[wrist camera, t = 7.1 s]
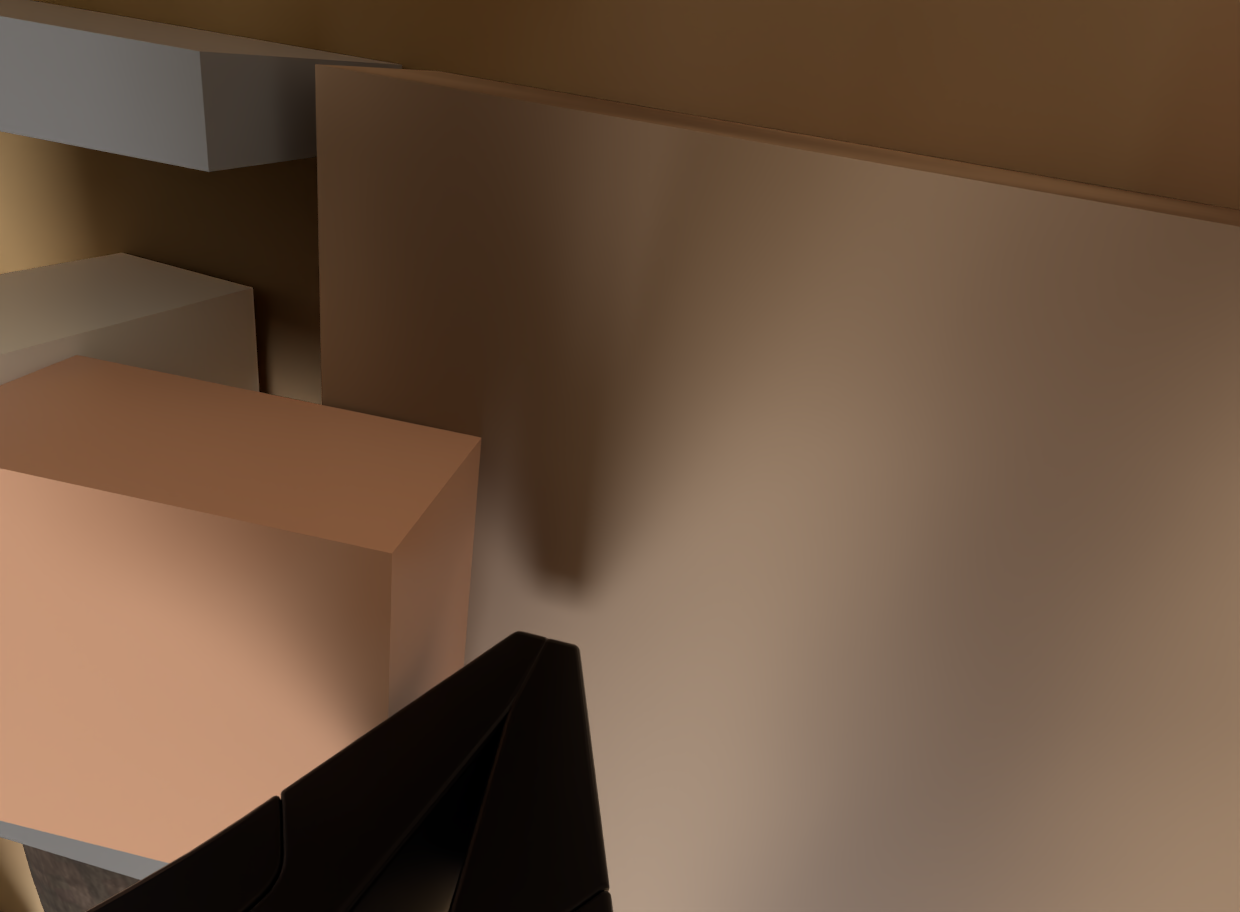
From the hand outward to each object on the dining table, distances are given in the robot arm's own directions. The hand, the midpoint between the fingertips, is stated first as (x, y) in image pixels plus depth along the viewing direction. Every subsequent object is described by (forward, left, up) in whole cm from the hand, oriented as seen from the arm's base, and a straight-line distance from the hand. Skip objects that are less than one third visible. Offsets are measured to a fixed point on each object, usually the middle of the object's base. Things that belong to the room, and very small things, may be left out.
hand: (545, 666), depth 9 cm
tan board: (-5, 0, -4) cm, 7 cm away
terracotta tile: (+4, 0, -1) cm, 4 cm away
